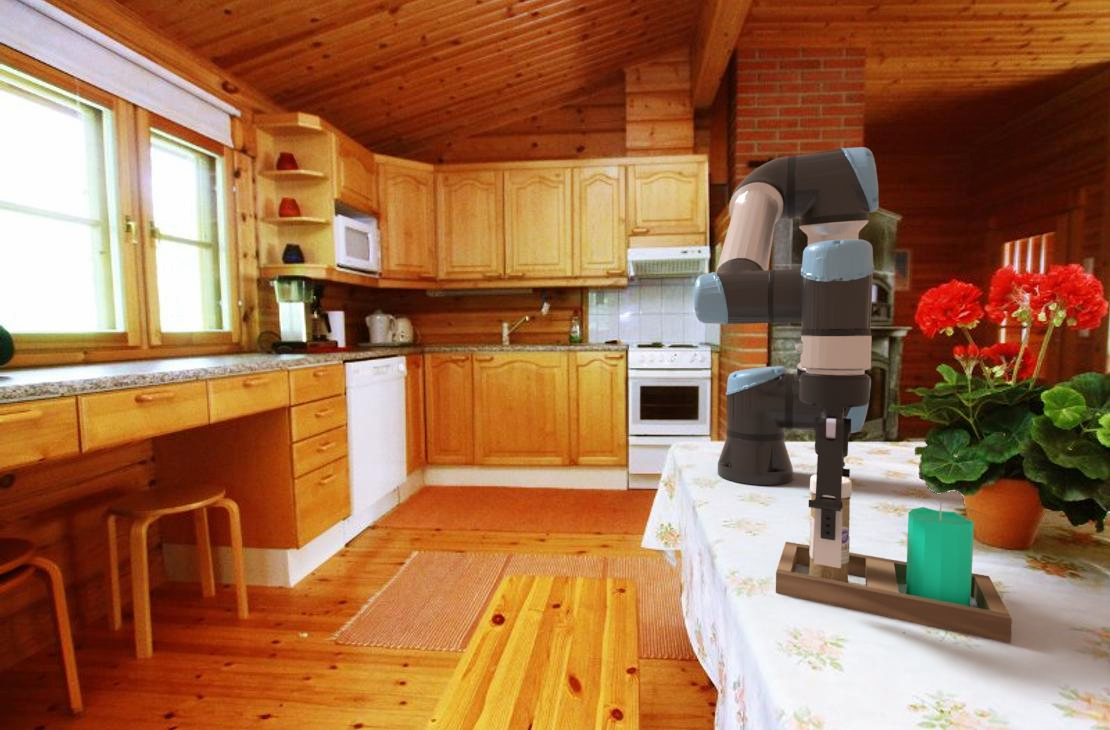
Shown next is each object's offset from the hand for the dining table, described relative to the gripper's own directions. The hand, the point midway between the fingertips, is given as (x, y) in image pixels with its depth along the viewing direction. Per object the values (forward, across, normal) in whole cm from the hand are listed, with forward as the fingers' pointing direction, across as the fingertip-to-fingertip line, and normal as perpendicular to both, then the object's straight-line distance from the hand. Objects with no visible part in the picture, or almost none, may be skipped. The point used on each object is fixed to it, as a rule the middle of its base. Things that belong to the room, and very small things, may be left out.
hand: (829, 543), depth 66 cm
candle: (+5, 0, +11) cm, 12 cm away
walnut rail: (+5, 0, +6) cm, 8 cm away
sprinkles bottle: (+5, 0, 0) cm, 5 cm away
